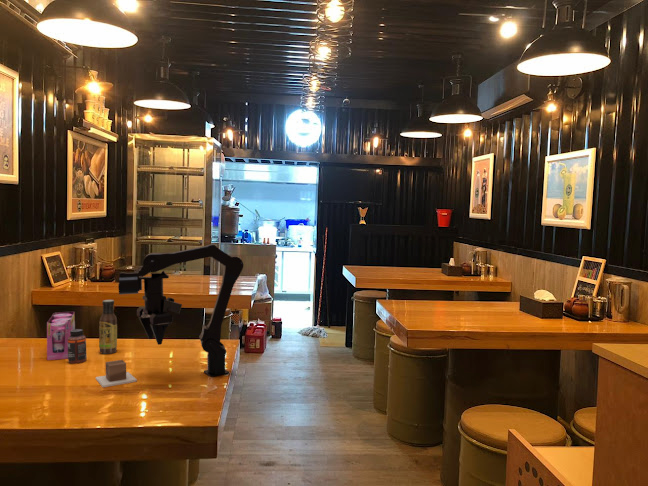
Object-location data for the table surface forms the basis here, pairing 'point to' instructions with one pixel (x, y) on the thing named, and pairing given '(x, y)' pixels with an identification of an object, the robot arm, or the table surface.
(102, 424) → the table surface
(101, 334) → the sauce bottle
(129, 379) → the stone coaster
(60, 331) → the gum box
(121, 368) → the walnut cube
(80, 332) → the supplement bottle
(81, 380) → the table surface
